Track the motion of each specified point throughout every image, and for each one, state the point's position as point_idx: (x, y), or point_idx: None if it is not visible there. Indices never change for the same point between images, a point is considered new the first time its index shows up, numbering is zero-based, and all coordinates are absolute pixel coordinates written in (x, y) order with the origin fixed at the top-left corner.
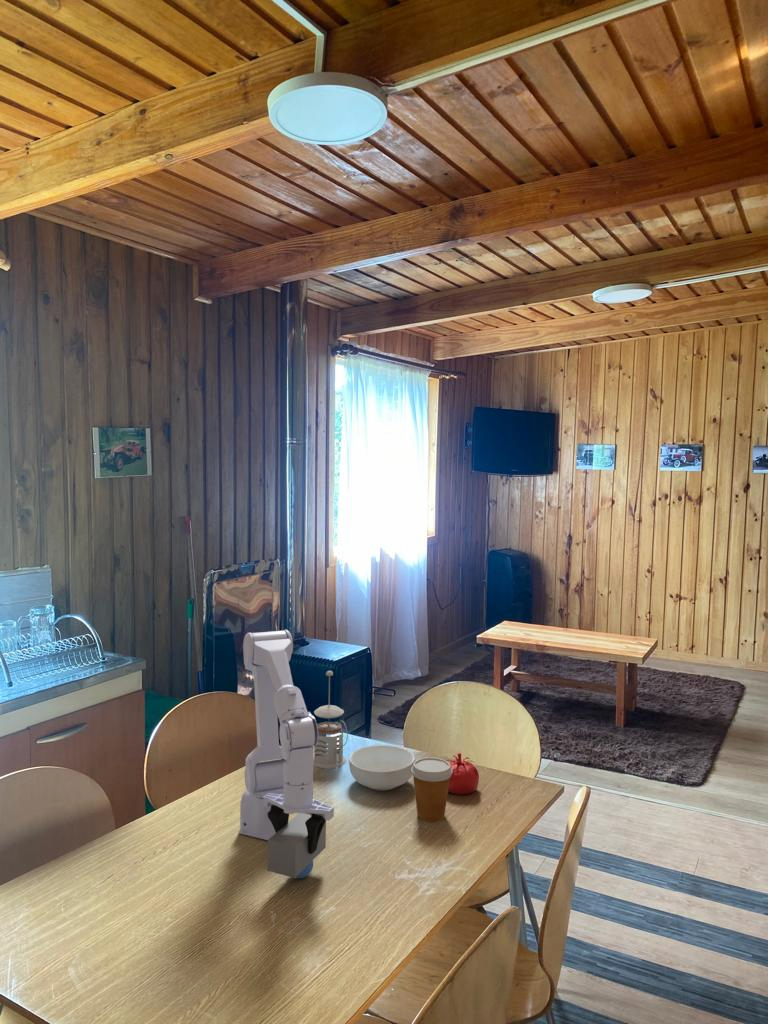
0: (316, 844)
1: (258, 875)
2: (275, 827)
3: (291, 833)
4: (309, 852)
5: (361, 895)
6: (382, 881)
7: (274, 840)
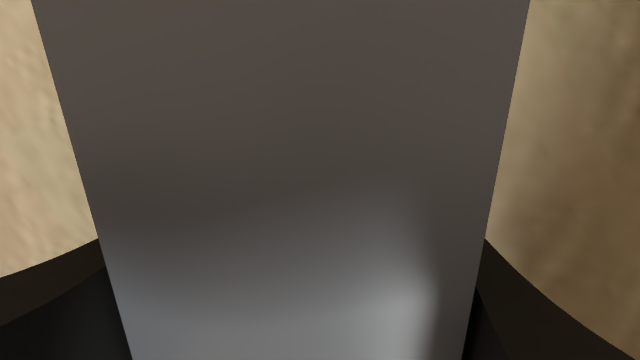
0: None
1: (565, 102)
2: (547, 319)
3: (288, 264)
4: None
5: (18, 133)
6: (24, 247)
7: (410, 9)
